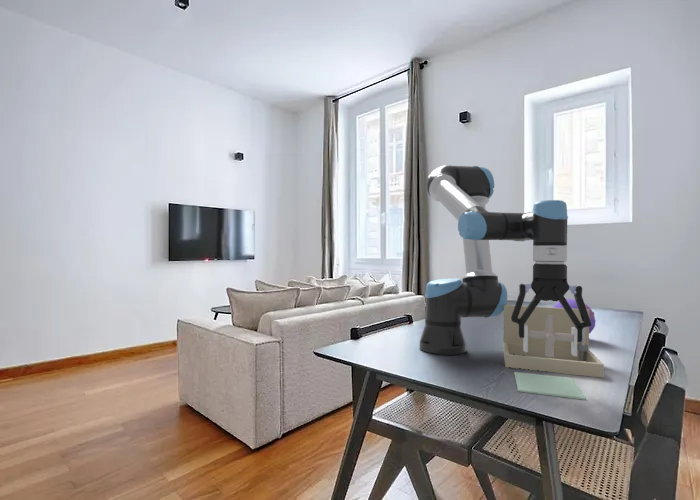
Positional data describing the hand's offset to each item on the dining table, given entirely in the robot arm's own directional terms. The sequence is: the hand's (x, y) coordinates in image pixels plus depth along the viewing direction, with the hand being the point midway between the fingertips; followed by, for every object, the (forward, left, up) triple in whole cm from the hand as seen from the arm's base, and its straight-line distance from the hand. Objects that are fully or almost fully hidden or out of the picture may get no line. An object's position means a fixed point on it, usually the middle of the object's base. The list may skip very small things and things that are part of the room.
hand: (549, 352), depth 95 cm
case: (+2, +20, -8) cm, 22 cm away
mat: (-1, 0, -8) cm, 8 cm away
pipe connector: (0, 0, -1) cm, 1 cm away
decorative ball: (+15, +59, -8) cm, 61 cm away
